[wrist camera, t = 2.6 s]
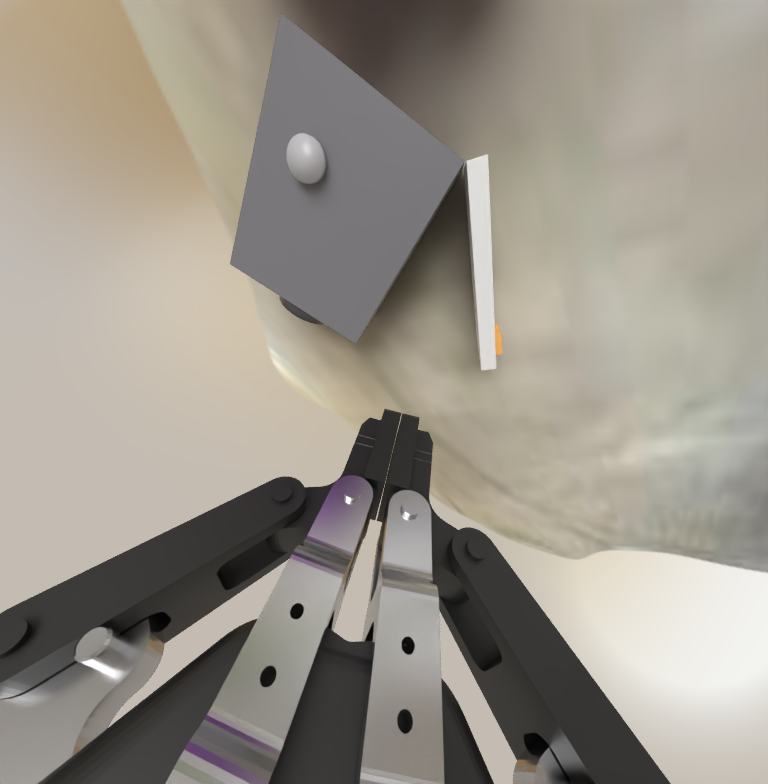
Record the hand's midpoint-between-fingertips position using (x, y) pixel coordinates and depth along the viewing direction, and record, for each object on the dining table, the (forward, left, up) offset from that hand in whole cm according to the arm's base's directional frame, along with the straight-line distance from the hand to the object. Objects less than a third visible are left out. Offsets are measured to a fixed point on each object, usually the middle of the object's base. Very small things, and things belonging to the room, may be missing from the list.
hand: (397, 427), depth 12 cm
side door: (-1, -5, -15) cm, 16 cm away
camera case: (+9, -3, -15) cm, 18 cm away
